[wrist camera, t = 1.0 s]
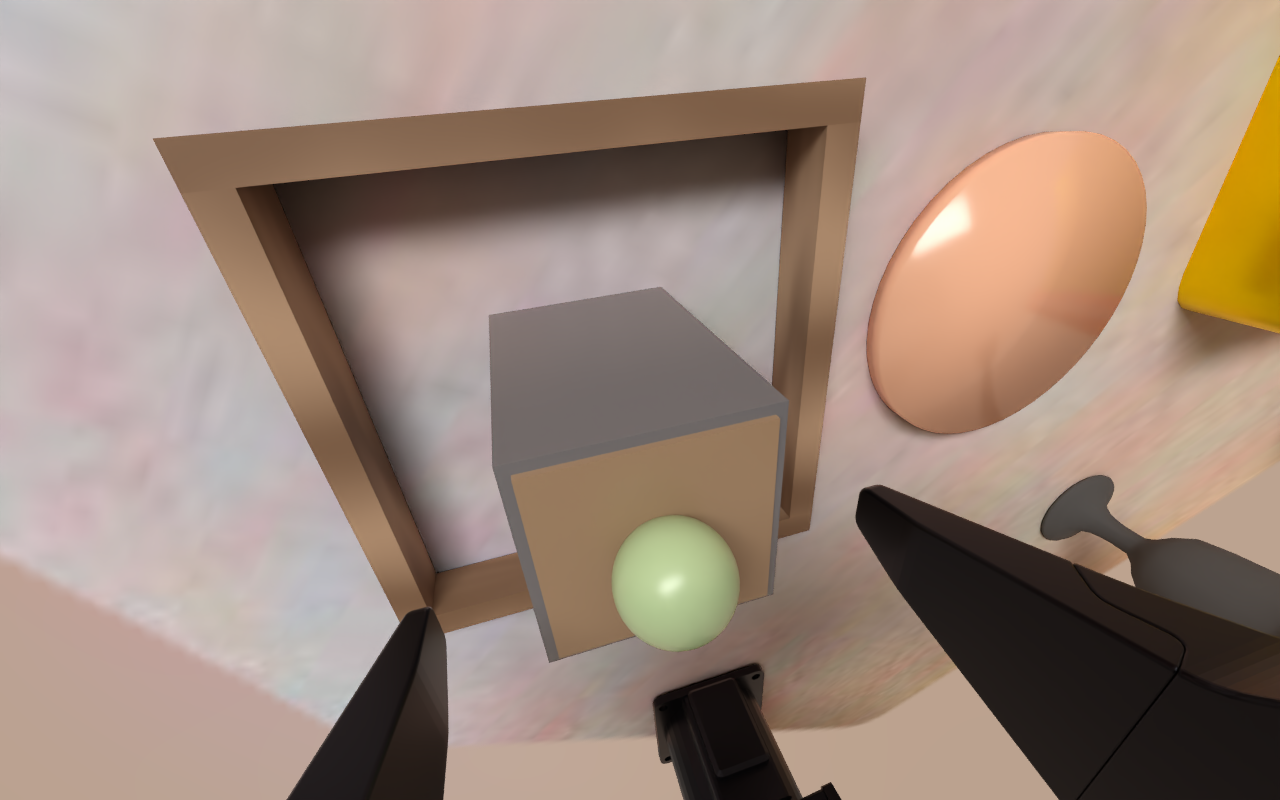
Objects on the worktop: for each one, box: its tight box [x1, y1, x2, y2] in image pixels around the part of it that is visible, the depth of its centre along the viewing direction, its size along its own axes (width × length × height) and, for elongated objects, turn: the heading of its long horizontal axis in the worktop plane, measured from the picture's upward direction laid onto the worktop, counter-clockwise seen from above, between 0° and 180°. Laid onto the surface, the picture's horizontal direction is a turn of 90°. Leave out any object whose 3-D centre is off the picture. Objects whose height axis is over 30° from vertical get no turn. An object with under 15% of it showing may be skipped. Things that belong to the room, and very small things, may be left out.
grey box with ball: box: [489, 287, 789, 663], centre depth 13 cm, size 6×6×10 cm
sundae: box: [1042, 475, 1280, 638], centre depth 23 cm, size 7×7×15 cm
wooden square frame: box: [153, 78, 866, 633], centre depth 16 cm, size 16×16×2 cm
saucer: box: [867, 131, 1147, 434], centre depth 20 cm, size 12×12×1 cm
